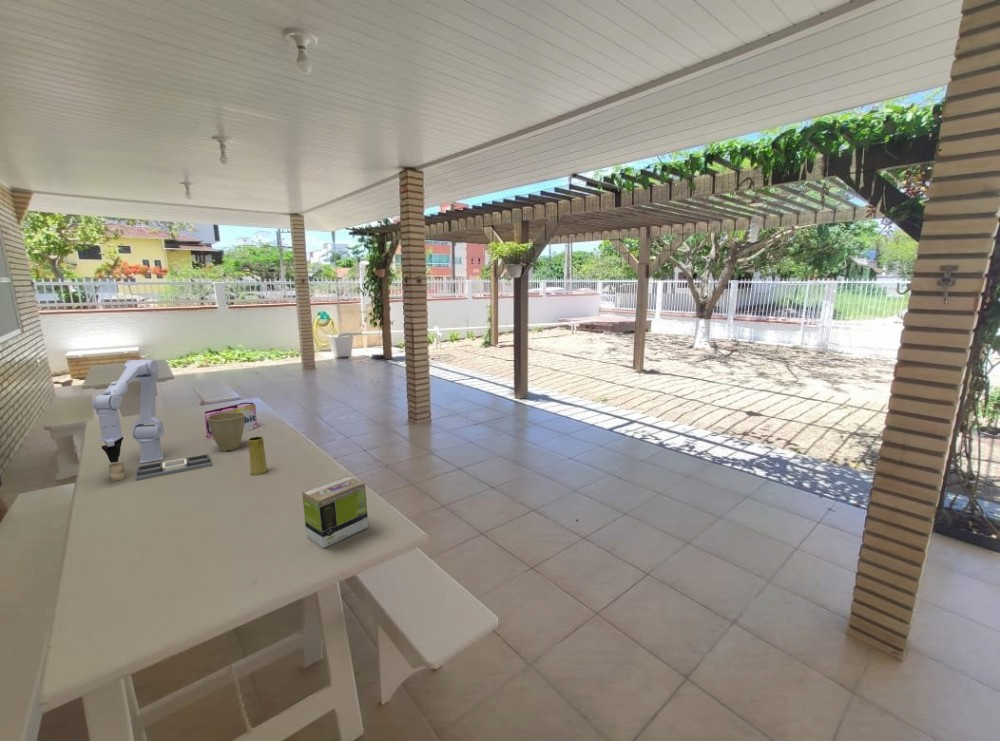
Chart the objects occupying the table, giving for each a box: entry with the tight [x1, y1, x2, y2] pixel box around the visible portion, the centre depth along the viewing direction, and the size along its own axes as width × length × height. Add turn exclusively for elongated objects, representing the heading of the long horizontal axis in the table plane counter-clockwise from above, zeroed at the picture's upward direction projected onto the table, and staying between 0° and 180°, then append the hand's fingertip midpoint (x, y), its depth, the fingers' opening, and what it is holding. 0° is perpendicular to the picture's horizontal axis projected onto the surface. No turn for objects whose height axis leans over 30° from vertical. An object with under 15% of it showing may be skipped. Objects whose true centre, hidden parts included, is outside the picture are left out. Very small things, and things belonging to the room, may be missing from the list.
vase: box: [247, 436, 268, 476], centre depth 176 cm, size 6×6×14 cm
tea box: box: [302, 475, 369, 549], centre depth 130 cm, size 15×10×15 cm, turn 141°
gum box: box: [204, 402, 258, 439], centre depth 228 cm, size 24×8×14 cm, turn 153°
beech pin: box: [108, 461, 127, 482], centre depth 170 cm, size 4×4×6 cm
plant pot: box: [207, 412, 245, 452], centre depth 204 cm, size 15×15×16 cm
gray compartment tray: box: [135, 453, 213, 481], centre depth 180 cm, size 11×25×3 cm, turn 127°
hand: (115, 459), depth 169 cm, fingers open, 7 cm apart
